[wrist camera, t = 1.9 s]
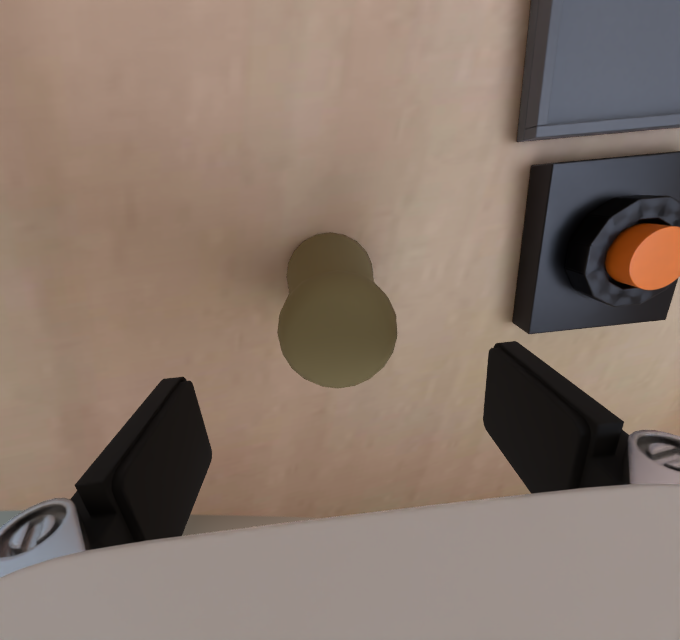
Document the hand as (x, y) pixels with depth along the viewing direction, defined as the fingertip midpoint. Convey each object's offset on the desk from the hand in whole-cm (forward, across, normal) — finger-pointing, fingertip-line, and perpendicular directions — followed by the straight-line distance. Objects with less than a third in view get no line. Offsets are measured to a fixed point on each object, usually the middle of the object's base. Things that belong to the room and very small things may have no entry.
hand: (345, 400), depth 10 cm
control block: (+14, -19, -1) cm, 23 cm away
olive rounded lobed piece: (+14, 0, -1) cm, 14 cm away
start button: (+10, -19, -1) cm, 21 cm away
